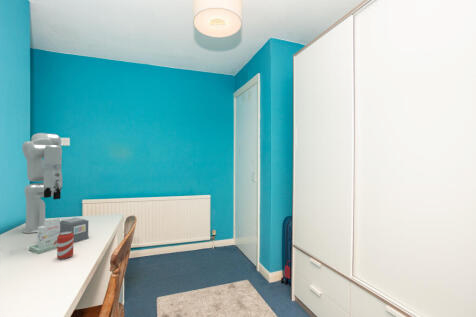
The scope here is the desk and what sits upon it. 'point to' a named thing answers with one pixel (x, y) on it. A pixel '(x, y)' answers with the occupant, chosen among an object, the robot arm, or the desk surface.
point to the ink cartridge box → (48, 233)
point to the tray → (36, 250)
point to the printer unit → (75, 228)
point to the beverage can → (65, 244)
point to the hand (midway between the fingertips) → (52, 198)
